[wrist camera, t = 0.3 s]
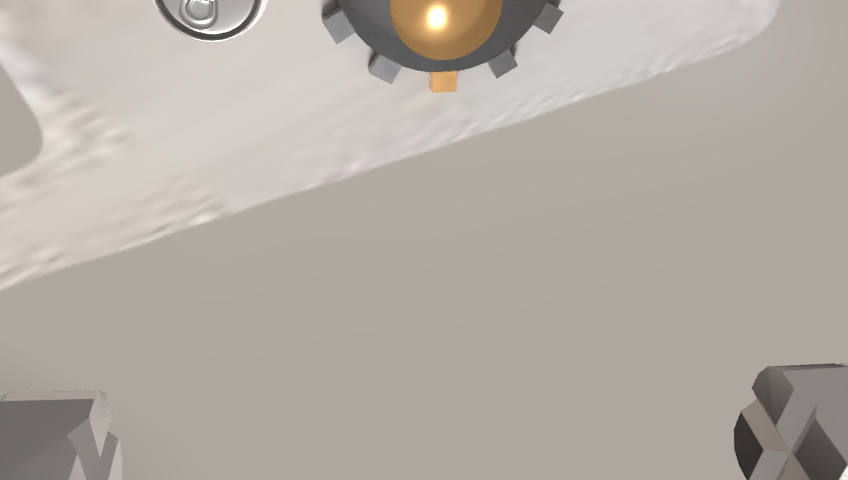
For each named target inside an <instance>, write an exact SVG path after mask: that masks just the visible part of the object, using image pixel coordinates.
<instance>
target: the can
mask: <svg viewBox="0 0 848 480" xmlns="http://www.w3.org/2000/svg"><path fill="white" fill-rule="evenodd" d="M153 2H154V4H155V5H156V7H157V9H158V10H159V12H160V13H161V15H162V16H163V17H164V19H165V20H166V21H167V22H168V23H169V24H170V25H171V26H172V27H173V28H174V29H176V30H177V31H179V32H180V33H182V34H183V35H185V36H187V37H190V38H192V39H195V40H199V41H204V42H220V41H225V40H229V39H231V38H234V37H237V36H239V35H241V34H243V33H244V32H246V31H247V30H249V29H250V28H251V27H252V26H253V25H254V24H255V23H256V22H257V21H258V20H259V18H260V17H261V15H262V13H263V11H264V9H265V7H266V5H267V2H268V0H153Z"/></svg>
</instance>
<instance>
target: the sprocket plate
mask: <svg viewBox="0 0 848 480" xmlns="http://www.w3.org/2000/svg"><path fill="white" fill-rule="evenodd" d="M338 3H339V5H340V6H339V7H337V8H336V9H334V10H333V11H331V12H330V13H328V14H327V15H325V16H323V17H322V22H323V24H324V25H325V27H326V28H327V30H328V31H329V33H330V34H331V36H332V37H333V39H334V40H335V42H336V44H338V43H340V42H341V41H343V40H344V39H346V38H347V37H349V36H351V35H352V34H354V33H355V32H356V33H357V35H358V36H359V37H360V38H361V39H362V40H363V41H364V42H365V43H366V44H367V45H368V46H370V47H371V48H372V49H373V50H375V51H376V54H375V56H374V58H373V60H372V62H371V63H370V65H369V67H368V70H369V72H370V74H372V75H374V76H376V77H378V78H380V79H382V80H384V81H386V82H388V83H390V84H392V82H393V81H394V79H395V77H396V75H397V74H398V72H399V70H400V68H401V66H404V67H407V68H411V69H414V70H418V71H425V72H430V89H431V90H432V92H433V93H435V92H453V91H456V86H457V71H460V70H464V69H468V68H472V67H475V66H478V65H480V64H483V63H485V62H487V63H488V65H489V67H490V69H491V71H492V72H493V74H494V75H495V77H496V78H498V77H500V76H502V75H503V74H505V73H507V72H508V71H510V70H512V69H513V68H515V67H517V66H518V65H517V63H516V61H515V59H514V57H513V55H512V53H511V51H510V49H509V48H510V47H511V46H512V45H514V44H515V43H516V42H517V41H518V40H519V39H520V38H522V36H523V35H524V34H525V33H526V32H527V31H528V30H529V29H530V27H531V26H532V25H535V26H536V27H538V28H540V29H542V30H543V31H545V32H547V33H548V34H550V33H551V32H552V30H553V28H554V27H555V25H556V24H557V22H558V21H559V19H560V17H561V16H562V14H563V13H564V12H563V11H561V10H560V9H559V8H558V7H556V6H554V5H553V4H551V3H549V2H548V0H338Z"/></svg>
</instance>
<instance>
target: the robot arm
mask: <svg viewBox="0 0 848 480" xmlns="http://www.w3.org/2000/svg"><path fill="white" fill-rule="evenodd" d="M752 390H753V391H754V394H755V396H756V398H757V399H756V400H755V401H754V402H752V403H751V404H750V405H749V406H747V407H746V408H745V409H743V410H742V411H741V413H740V415H739V417H738V420H737V422H736V425H735V428H734V451H735V453H736V457H737V460H738V464H739V466H740V468H741V470H742V472H743V474H744V476H745V478H746V480H848V363H840V364H834V363H832V364H810V365H789V366H768V367H766V368H765V369H764V370H762V371H761V372H760V373H759V374H758V375H757V378H756V379H755V382H754V384H753V386H752ZM111 416H112V410H111V407H110V403H109V400H108V396H107V393H105V392H102V391H53V392H10V393H0V480H122V476H123V465H122V452H121V448H120V443H119V439H118V438H117V437H115V436H114V435H112V434H111V433H110V432H108V427H109V423H110V420H111Z"/></svg>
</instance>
